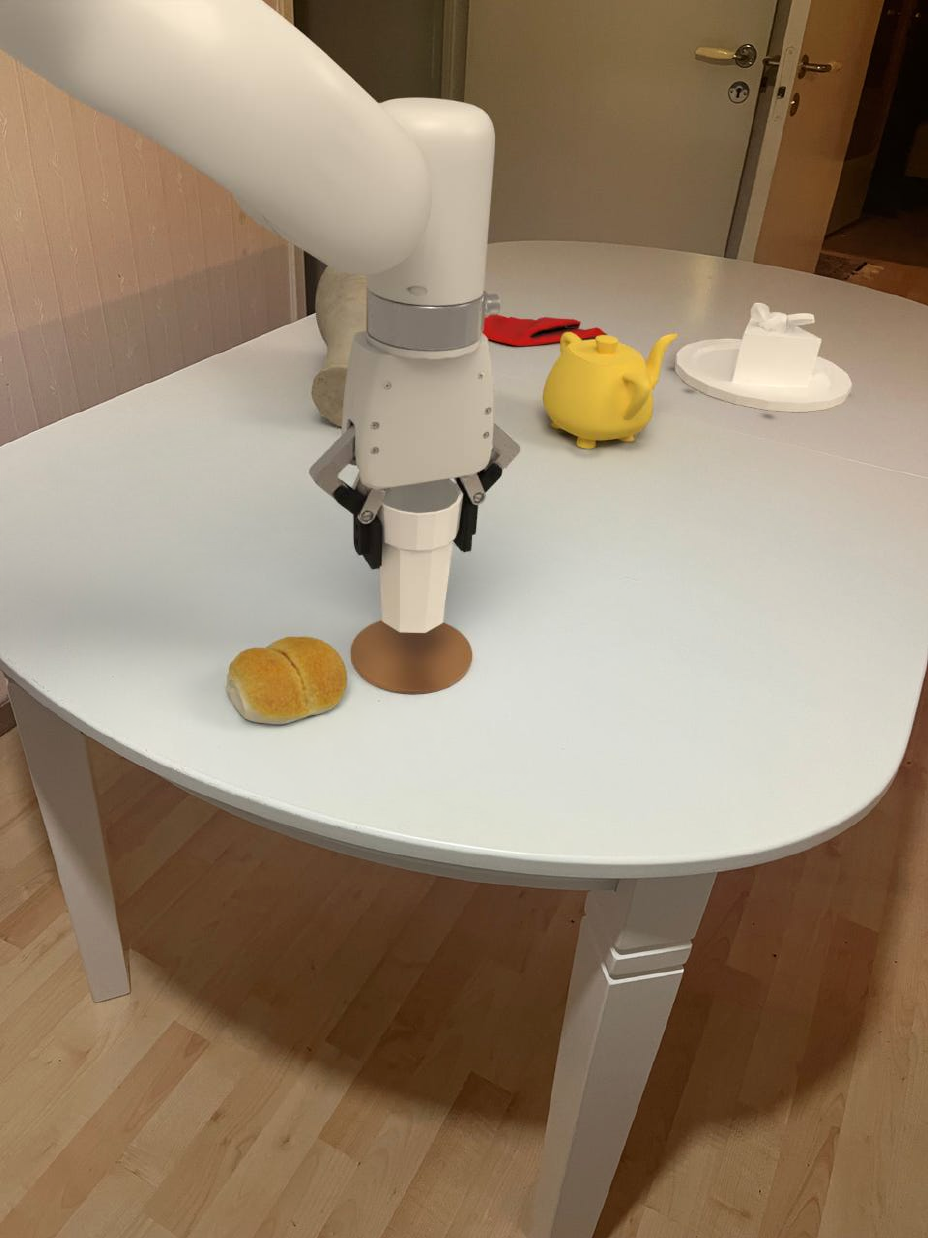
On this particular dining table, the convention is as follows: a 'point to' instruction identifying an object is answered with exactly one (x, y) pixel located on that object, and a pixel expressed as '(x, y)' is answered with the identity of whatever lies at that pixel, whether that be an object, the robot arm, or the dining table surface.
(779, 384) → the dish
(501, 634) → the dining table surface
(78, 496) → the dining table surface
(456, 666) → the coaster
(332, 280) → the vase
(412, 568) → the cup
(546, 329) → the cloth
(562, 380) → the teapot
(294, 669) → the bread roll
